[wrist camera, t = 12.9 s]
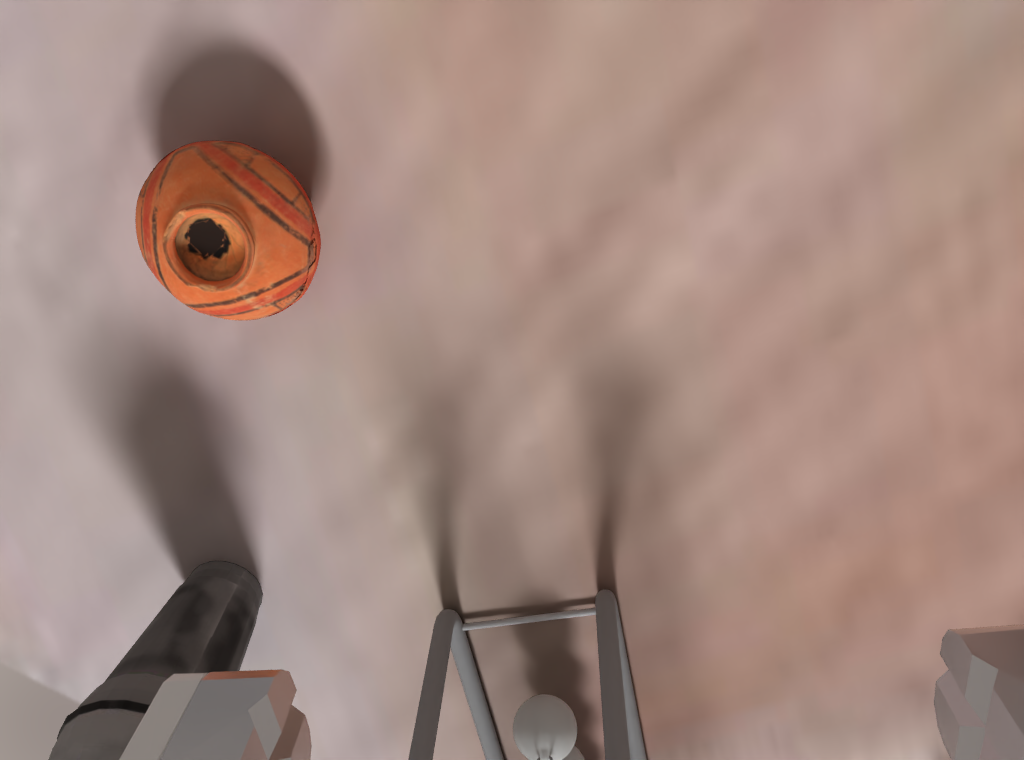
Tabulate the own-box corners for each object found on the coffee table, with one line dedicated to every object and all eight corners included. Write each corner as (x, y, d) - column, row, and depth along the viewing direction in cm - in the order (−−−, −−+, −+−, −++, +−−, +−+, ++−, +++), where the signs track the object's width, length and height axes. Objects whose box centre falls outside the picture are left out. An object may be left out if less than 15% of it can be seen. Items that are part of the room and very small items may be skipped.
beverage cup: (145, 552, 47) (-108, 900, 29) (259, 533, 46) (70, 881, 28) (194, 643, 50) (-7, 1008, 32) (302, 626, 49) (156, 995, 31)
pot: (125, 217, 38) (65, 230, 31) (245, 105, 37) (208, 94, 30) (250, 340, 40) (217, 375, 33) (365, 236, 39) (354, 252, 33)
